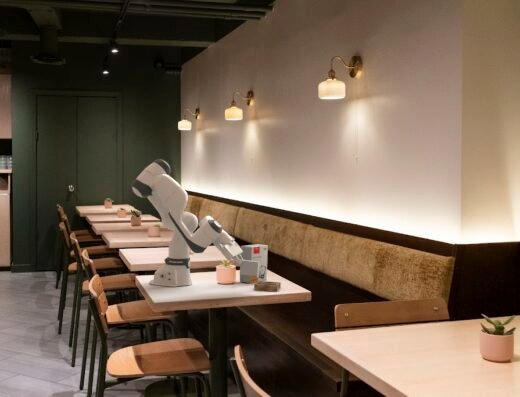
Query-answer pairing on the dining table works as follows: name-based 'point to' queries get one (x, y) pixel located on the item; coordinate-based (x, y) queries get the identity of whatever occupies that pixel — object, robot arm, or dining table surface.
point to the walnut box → (267, 286)
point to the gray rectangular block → (249, 267)
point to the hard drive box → (255, 254)
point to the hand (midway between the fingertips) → (242, 263)
